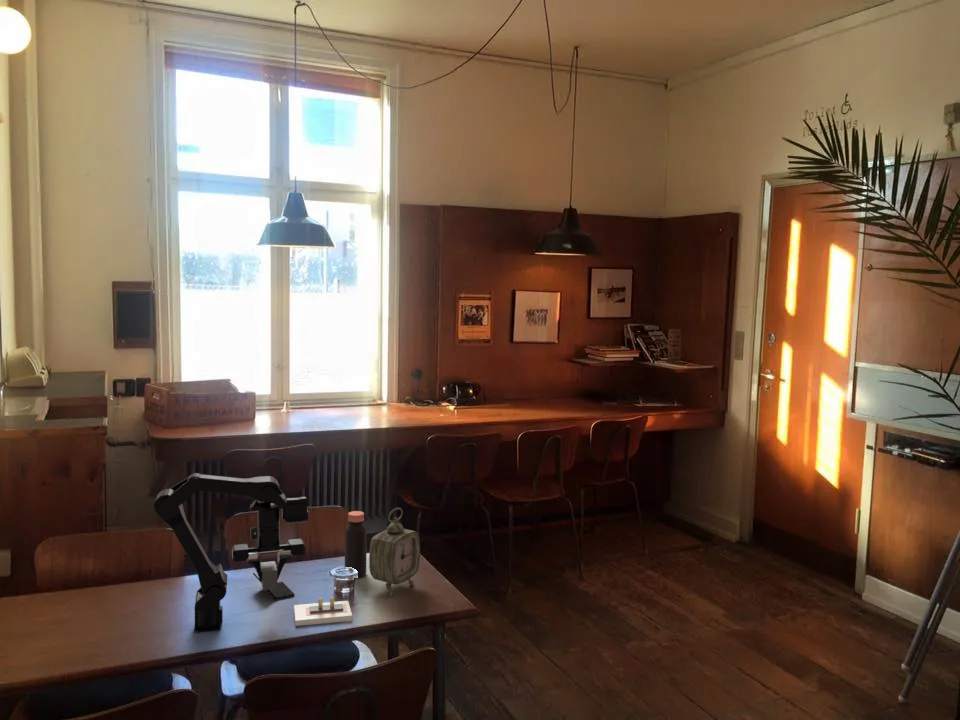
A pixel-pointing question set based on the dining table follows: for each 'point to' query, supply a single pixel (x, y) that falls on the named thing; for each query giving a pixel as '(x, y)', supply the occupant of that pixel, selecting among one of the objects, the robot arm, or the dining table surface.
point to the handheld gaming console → (279, 591)
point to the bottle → (356, 543)
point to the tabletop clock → (394, 554)
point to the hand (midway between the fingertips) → (269, 580)
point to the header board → (322, 612)
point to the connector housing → (269, 575)
